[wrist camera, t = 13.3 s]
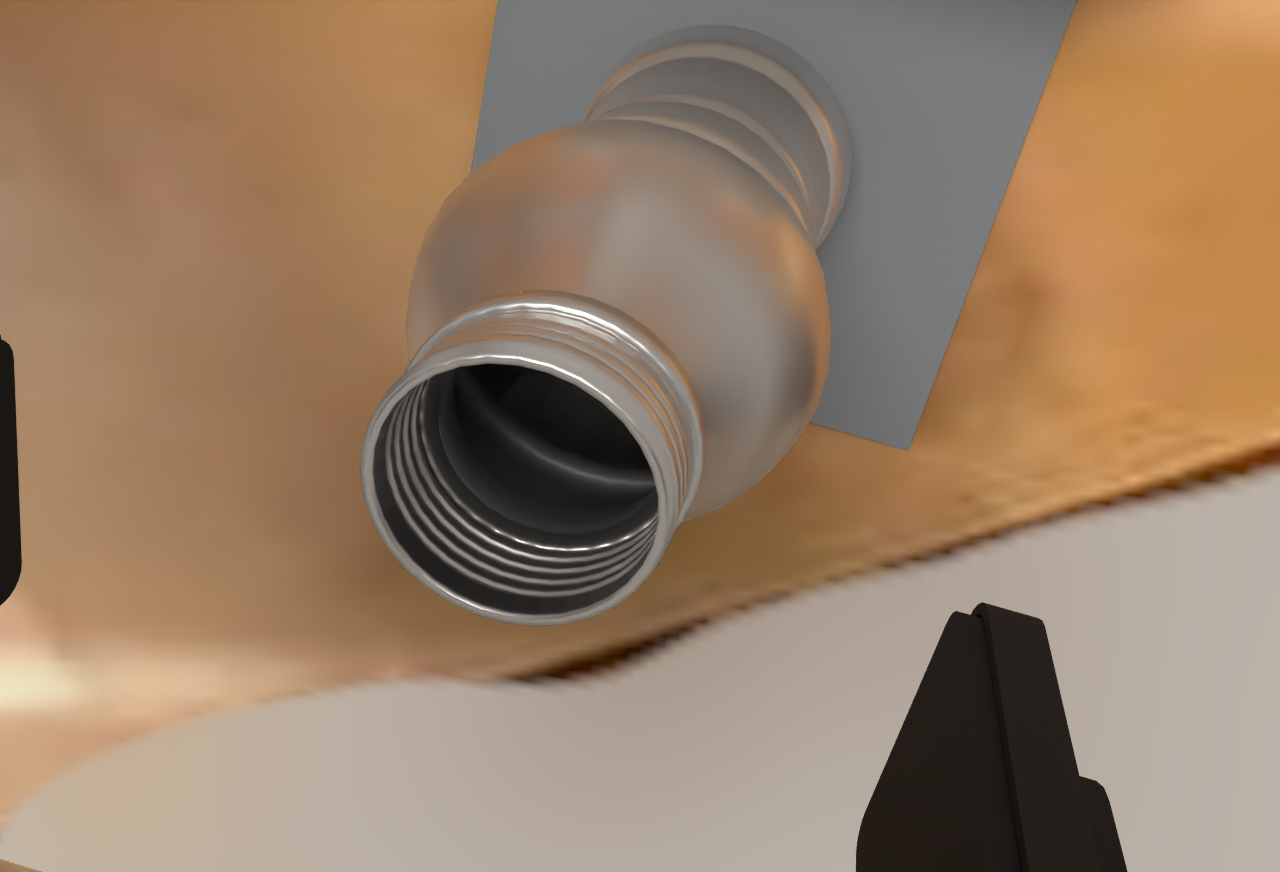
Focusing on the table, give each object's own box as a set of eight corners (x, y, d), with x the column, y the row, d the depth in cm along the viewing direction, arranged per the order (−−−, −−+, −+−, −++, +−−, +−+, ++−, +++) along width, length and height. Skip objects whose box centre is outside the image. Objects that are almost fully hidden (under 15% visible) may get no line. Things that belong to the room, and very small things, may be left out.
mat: (536, -205, 29) (530, -207, 28) (1097, -64, 28) (1100, -63, 28) (453, 313, 35) (447, 319, 35) (907, 443, 34) (908, 450, 34)
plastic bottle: (611, -2, 30) (211, 175, 12) (876, 29, 29) (856, 268, 11) (593, 241, 33) (247, 668, 15) (834, 276, 32) (767, 772, 14)
